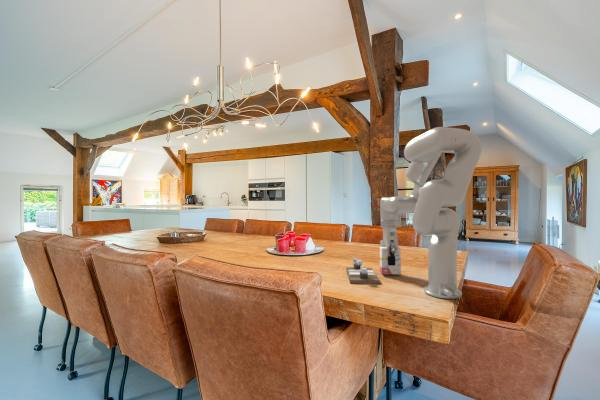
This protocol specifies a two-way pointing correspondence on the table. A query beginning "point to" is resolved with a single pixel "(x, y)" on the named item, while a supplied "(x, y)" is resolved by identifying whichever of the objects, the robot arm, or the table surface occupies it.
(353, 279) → the board
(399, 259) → the ink cartridge box
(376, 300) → the table surface
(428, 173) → the robot arm
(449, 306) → the table surface
